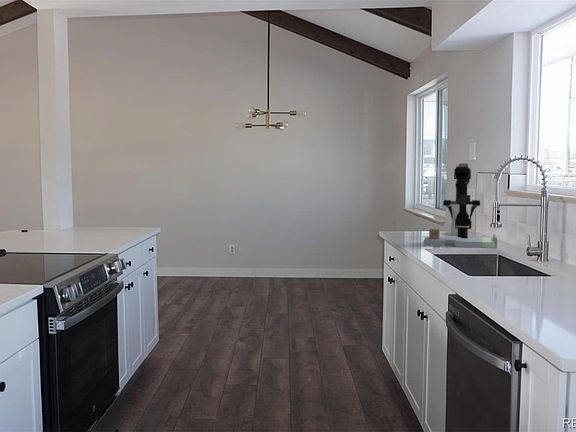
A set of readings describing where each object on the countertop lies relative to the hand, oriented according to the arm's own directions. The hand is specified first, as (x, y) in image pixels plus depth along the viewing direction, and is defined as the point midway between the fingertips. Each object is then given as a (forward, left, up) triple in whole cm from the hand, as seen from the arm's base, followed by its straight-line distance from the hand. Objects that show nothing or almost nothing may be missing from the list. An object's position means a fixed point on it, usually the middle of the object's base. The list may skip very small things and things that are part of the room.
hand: (461, 218), depth 291 cm
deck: (-3, -1, -14) cm, 15 cm away
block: (-3, -14, -11) cm, 18 cm away
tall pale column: (-45, -1, -15) cm, 48 cm away
